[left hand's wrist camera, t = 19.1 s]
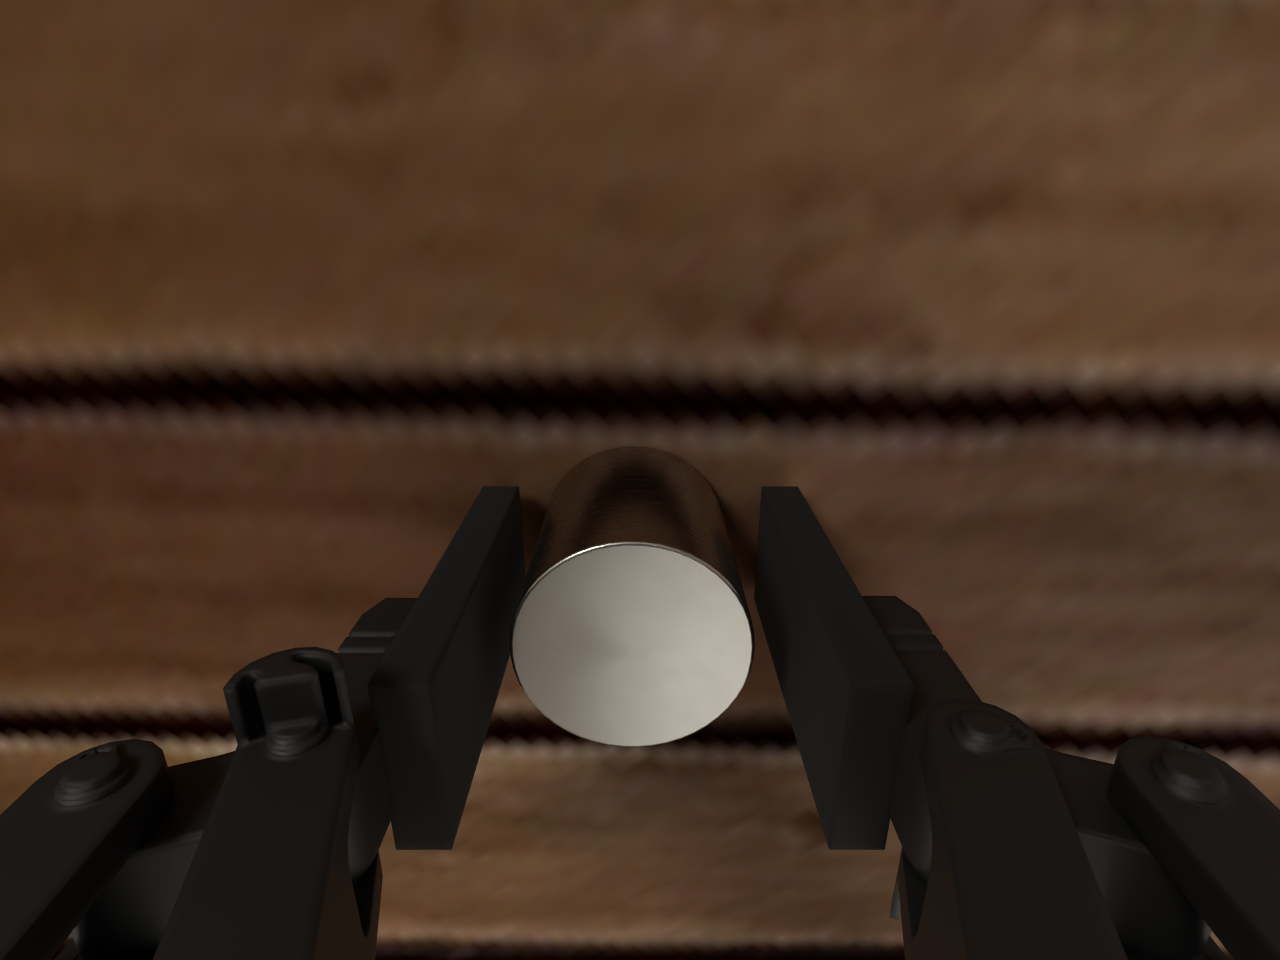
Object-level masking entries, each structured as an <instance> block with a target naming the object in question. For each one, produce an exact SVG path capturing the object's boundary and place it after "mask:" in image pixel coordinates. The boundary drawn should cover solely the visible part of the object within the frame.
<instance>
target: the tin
mask: <svg viewBox="0 0 1280 960" xmlns="http://www.w3.org/2000/svg"><path fill="white" fill-rule="evenodd" d="M754 646H755V643H754V630H753V626H752V621H751V617H750V613H749V609H748V606H747V602H746V599H745V595H744V591H743V588H742V584H741V580H740V577H739V573H738V569H737V566H736V562H735V558H734V555H733V551H732V547H731V544H730V540H729V536H728V533H727V529H726V526H725V522H724V518H723V515H722V511H721V507H720V504H719V502H718V499H717V496H716V495H715V493H714V491H713V489H712V487H711V486H710V485H709V483H708V482H707V481H706V479H705V478H704V477H703V476H702V475H701V474H700V473H699V472H698V471H697V470H696V469H695V468H694V467H692V466H691V465H690V464H688V463H687V462H685V461H684V460H682V459H680V458H678V457H677V456H674V455H672V454H670V453H667V452H664V451H661V450H657V449H653V448H646V447H622V448H615V449H611V450H607V451H604V452H601V453H598V454H596V455H593V456H592V457H590V458H588V459H586V460H584V461H583V462H581V463H580V464H578V465H577V466H576V467H574V468H573V469H572V470H571V471H570V472H569V473H568V474H567V475H566V476H565V477H564V478H563V479H562V481H561V482H560V483H559V485H558V486H557V488H556V490H555V491H554V493H553V495H552V497H551V500H550V502H549V505H548V508H547V511H546V515H545V518H544V521H543V524H542V527H541V530H540V534H539V537H538V540H537V543H536V546H535V550H534V553H533V556H532V559H531V562H530V566H529V569H528V572H527V575H526V578H525V582H524V585H523V588H522V591H521V594H520V598H519V601H518V604H517V607H516V610H515V614H514V617H513V621H512V625H511V631H510V655H511V660H512V664H513V668H514V671H515V674H516V676H517V679H518V681H519V683H520V685H521V687H522V689H523V691H524V692H525V694H526V695H527V697H528V698H529V699H530V701H531V702H532V703H533V705H534V706H535V707H536V708H537V709H538V710H539V711H540V712H541V713H542V714H543V715H545V716H546V717H547V718H548V719H550V720H551V721H552V722H553V723H555V724H556V725H558V726H560V727H561V728H563V729H564V730H566V731H568V732H570V733H572V734H574V735H577V736H579V737H581V738H584V739H587V740H590V741H593V742H597V743H602V744H606V745H613V746H621V747H643V746H653V745H659V744H664V743H668V742H672V741H675V740H678V739H681V738H684V737H686V736H688V735H691V734H693V733H695V732H697V731H699V730H700V729H702V728H704V727H706V726H707V725H709V724H710V723H711V722H713V721H714V720H715V719H717V718H718V717H719V716H720V715H721V714H722V713H723V712H724V711H725V710H727V709H728V708H729V706H730V705H731V704H732V703H733V701H734V700H735V699H736V698H737V696H738V695H739V693H740V691H741V690H742V688H743V686H744V684H745V682H746V680H747V677H748V675H749V673H750V670H751V666H752V662H753V657H754Z"/></svg>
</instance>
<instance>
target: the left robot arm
mask: <svg viewBox="0 0 1280 960" xmlns="http://www.w3.org/2000/svg"><path fill="white" fill-rule="evenodd" d="M524 582H525V569H524V554H523V540H522V525H521V511H520V496H519V487H483V488H482V490H481V491H480V493H479V495H478V496H477V498H476V500H475V502H474V503H473V505H472V507H471V508H470V510H469V512H468V513H467V515H466V517H465V519H464V520H463V522H462V524H461V525H460V527H459V529H458V531H457V532H456V534H455V536H454V537H453V539H452V541H451V543H450V544H449V546H448V548H447V549H446V551H445V553H444V554H443V556H442V558H441V560H440V561H439V563H438V565H437V566H436V568H435V570H434V572H433V573H432V575H431V577H430V578H429V580H428V582H427V584H426V585H425V587H424V589H423V590H422V592H421V594H420V595H419V597H418V598H385V599H384V600H382V601H381V602H380V603H378V604H377V605H375V606H374V607H372V608H371V609H370V610H368V611H367V612H365V613H364V614H362V616H361V617H360V619H359V620H358V622H357V623H356V624H355V626H354V627H353V629H352V630H351V632H350V633H349V637H346V639H345V640H344V642H343V643H342V644H341V646H340V647H339V649H338V653H335V652H333V651H331V650H327V649H322V648H318V647H305V648H293V649H289V650H284V651H280V652H276V653H272V654H270V655H268V656H265V657H263V658H261V659H258V660H256V661H254V662H251V663H250V664H249V665H247V666H246V667H244V668H243V669H241V670H240V671H239V672H237V673H236V674H234V675H233V676H232V678H231V679H230V680H229V682H228V683H227V684H226V685H225V687H224V688H223V691H224V695H225V698H226V702H227V706H228V709H229V713H230V717H231V721H232V724H233V728H234V732H235V736H236V739H237V743H238V746H237V748H236V751H233V752H230V753H226V754H223V755H220V756H215V757H211V758H206V759H202V760H197V761H193V762H188V763H184V764H179V765H175V766H170V767H168V766H167V763H166V760H165V757H164V753H163V750H162V749H161V748H159V747H158V746H157V745H156V744H154V743H153V742H151V741H144V740H137V739H130V740H123V741H116V742H109V743H106V744H103V745H99V746H97V747H93V748H91V749H88V750H85V751H83V752H81V753H79V754H77V755H75V756H73V757H71V758H69V759H67V760H66V761H64V762H62V763H60V764H58V765H56V766H55V767H54V768H53V769H51V770H50V771H49V772H47V773H46V774H45V775H43V776H42V777H41V778H40V779H38V780H37V781H36V782H35V783H34V784H32V785H31V786H30V787H29V788H28V789H27V790H26V791H25V792H24V793H23V794H22V795H21V796H20V797H19V798H18V799H17V800H16V801H15V802H14V803H13V804H12V805H10V806H9V807H8V808H7V809H6V810H5V811H4V812H3V813H2V814H1V815H0V960H50V959H51V958H52V957H53V955H54V954H55V953H56V952H57V950H58V949H59V948H60V946H61V945H62V944H63V943H64V941H65V940H66V939H67V937H68V936H69V935H70V933H71V935H72V939H71V940H70V942H69V943H68V944H67V946H66V947H65V948H64V950H63V951H62V952H61V953H60V954H59V955H58V956H57V957H56V958H55V959H54V960H375V952H376V942H377V931H378V921H379V910H380V900H381V889H382V879H383V875H382V869H381V862H380V857H379V851H378V850H379V847H380V845H381V843H382V840H383V838H384V835H385V833H386V831H387V828H388V826H389V823H390V821H391V823H392V829H393V835H394V840H395V846H396V850H452V847H453V843H454V840H455V837H456V833H457V830H458V826H459V823H460V820H461V816H462V813H463V810H464V806H465V803H466V800H467V796H468V793H469V790H470V786H471V783H472V780H473V776H474V773H475V770H476V766H477V763H478V759H479V756H480V753H481V749H482V746H483V743H484V739H485V736H486V733H487V729H488V726H489V723H490V719H491V716H492V713H493V709H494V706H495V703H496V699H497V696H498V692H499V689H500V686H501V682H502V679H503V676H504V672H505V669H506V666H507V662H508V659H509V656H510V631H511V625H512V621H513V617H514V614H515V610H516V607H517V604H518V601H519V598H520V594H521V591H522V588H523V585H524ZM754 599H755V603H756V606H757V609H758V613H759V616H760V619H761V623H762V626H763V630H764V633H765V636H766V640H767V643H768V646H769V650H770V653H771V656H772V660H773V663H774V666H775V670H776V673H777V676H778V680H779V683H780V686H781V690H782V693H783V697H784V700H785V703H786V707H787V710H788V713H789V717H790V720H791V723H792V727H793V730H794V733H795V737H796V740H797V743H798V747H799V750H800V754H801V757H802V760H803V764H804V767H805V770H806V774H807V777H808V780H809V784H810V787H811V790H812V794H813V797H814V800H815V804H816V807H817V810H818V814H819V817H820V821H821V824H822V827H823V831H824V834H825V837H826V841H827V844H828V847H829V850H885V845H886V839H887V834H888V828H889V822H890V818H891V820H892V823H893V825H894V828H895V830H896V832H897V835H898V837H899V840H900V842H901V844H902V851H901V857H900V862H899V867H898V873H897V878H896V883H895V889H894V894H893V899H892V905H891V912H890V918H894V919H899V914H900V909H901V919H902V929H903V940H904V950H905V960H1230V959H1229V958H1228V957H1227V956H1226V955H1225V954H1224V953H1223V952H1222V951H1221V950H1220V948H1219V947H1218V946H1217V944H1216V943H1215V942H1214V941H1213V939H1212V938H1211V937H1210V934H1211V931H1213V933H1214V934H1215V935H1216V936H1217V938H1218V939H1219V940H1220V941H1221V943H1222V944H1223V945H1224V947H1225V948H1226V949H1227V950H1228V952H1229V953H1230V954H1231V956H1232V957H1233V958H1234V959H1235V960H1280V810H1279V809H1278V808H1277V807H1276V806H1275V805H1274V804H1273V803H1272V802H1271V801H1270V800H1269V799H1268V798H1267V797H1266V796H1264V795H1263V794H1262V793H1261V792H1260V791H1259V790H1258V789H1257V788H1256V787H1255V786H1254V785H1253V784H1252V783H1251V782H1250V781H1249V780H1248V779H1246V778H1245V777H1244V776H1243V775H1241V774H1240V773H1239V772H1237V771H1236V770H1235V769H1233V768H1232V767H1231V766H1229V765H1228V764H1227V763H1225V762H1224V761H1222V760H1220V759H1218V758H1216V757H1214V756H1212V755H1210V754H1208V753H1207V752H1205V751H1203V750H1201V749H1199V748H1196V747H1193V746H1191V745H1188V744H1184V743H1182V742H1178V741H1175V740H1172V739H1164V738H1157V737H1150V736H1147V737H1140V738H1133V739H1129V740H1128V741H1127V742H1125V743H1124V744H1123V745H1122V746H1120V747H1119V750H1118V754H1117V757H1116V760H1115V763H1114V764H1110V763H1105V762H1101V761H1096V760H1092V759H1087V758H1083V757H1078V756H1074V755H1069V754H1064V753H1061V752H1057V751H1054V750H1050V749H1047V748H1044V747H1043V745H1042V743H1041V741H1040V740H1039V738H1038V737H1037V735H1036V734H1035V732H1034V731H1033V729H1032V728H1030V727H1029V726H1028V725H1027V724H1025V723H1024V722H1023V721H1022V720H1020V719H1019V718H1018V717H1016V716H1015V715H1013V714H1011V713H1009V712H1007V711H1005V710H1003V709H1001V708H999V707H997V706H995V705H991V704H987V703H983V702H982V701H981V700H980V698H979V697H978V696H977V694H976V693H975V691H974V690H973V688H972V687H971V686H970V684H969V683H968V681H967V680H966V679H965V677H964V676H963V674H962V673H961V671H960V670H959V669H958V667H957V666H956V664H955V663H954V662H953V660H952V659H951V657H950V656H949V654H948V653H947V652H946V651H943V646H942V645H941V643H940V642H939V640H938V639H937V637H936V636H935V635H932V630H931V629H930V628H929V626H928V625H927V623H926V622H925V621H924V619H923V618H922V616H921V615H920V613H919V612H918V611H916V610H915V609H913V608H912V607H910V606H909V605H907V604H906V603H905V602H903V601H902V600H900V599H899V598H897V597H896V596H861V594H860V592H859V591H858V589H857V587H856V585H855V584H854V582H853V580H852V579H851V577H850V575H849V574H848V572H847V570H846V568H845V567H844V565H843V563H842V562H841V560H840V558H839V556H838V555H837V553H836V551H835V550H834V548H833V546H832V545H831V543H830V541H829V539H828V538H827V536H826V534H825V533H824V531H823V529H822V527H821V526H820V524H819V522H818V521H817V519H816V517H815V515H814V514H813V512H812V510H811V509H810V507H809V505H808V504H807V502H806V500H805V498H804V497H803V495H802V493H801V492H800V490H799V488H798V487H762V494H761V508H760V522H759V537H758V551H757V566H756V580H755V594H754Z"/></svg>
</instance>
